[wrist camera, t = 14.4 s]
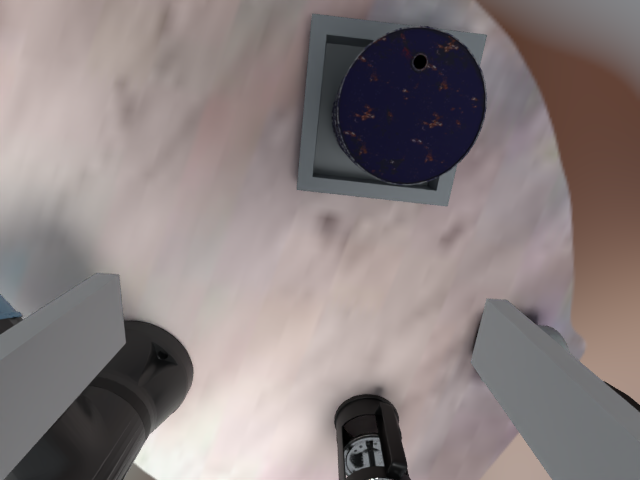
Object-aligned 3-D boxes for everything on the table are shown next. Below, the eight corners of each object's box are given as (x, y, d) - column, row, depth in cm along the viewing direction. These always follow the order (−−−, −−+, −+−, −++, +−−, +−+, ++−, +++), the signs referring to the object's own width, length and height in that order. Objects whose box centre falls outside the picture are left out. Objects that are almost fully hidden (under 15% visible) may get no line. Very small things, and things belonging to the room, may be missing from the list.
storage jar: (413, 170, 38) (467, 195, 24) (325, 160, 38) (326, 179, 23) (432, 72, 35) (507, 32, 20) (337, 61, 34) (346, 13, 20)
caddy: (299, 183, 39) (296, 189, 35) (313, 26, 34) (312, 13, 30) (435, 199, 40) (447, 206, 36) (469, 45, 35) (486, 34, 31)
